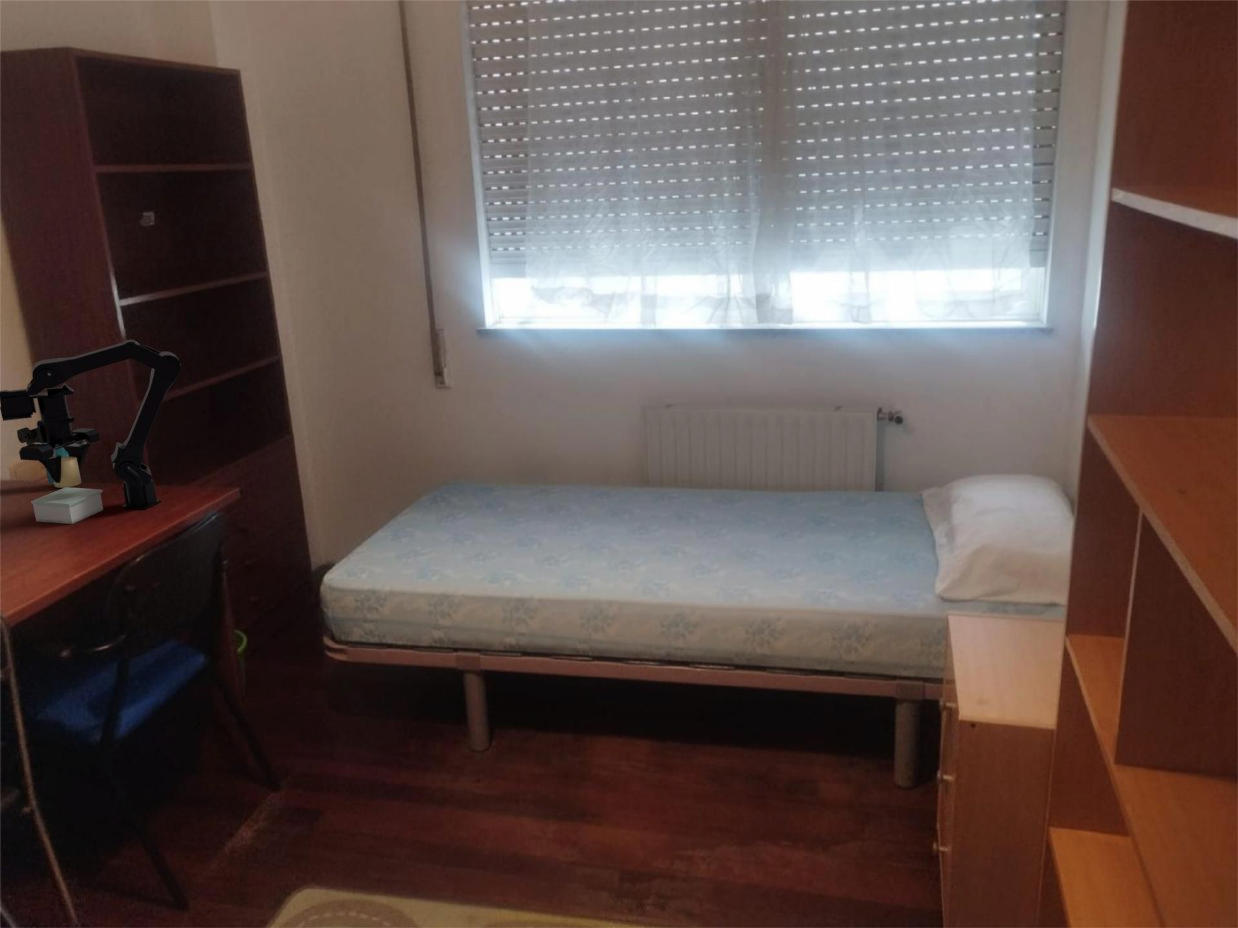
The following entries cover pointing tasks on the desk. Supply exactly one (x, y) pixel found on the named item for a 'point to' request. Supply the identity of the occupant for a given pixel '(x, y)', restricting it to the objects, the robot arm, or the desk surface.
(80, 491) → the box lid
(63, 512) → the storage box
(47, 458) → the robot arm
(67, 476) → the beige rounded cylinder
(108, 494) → the desk surface
